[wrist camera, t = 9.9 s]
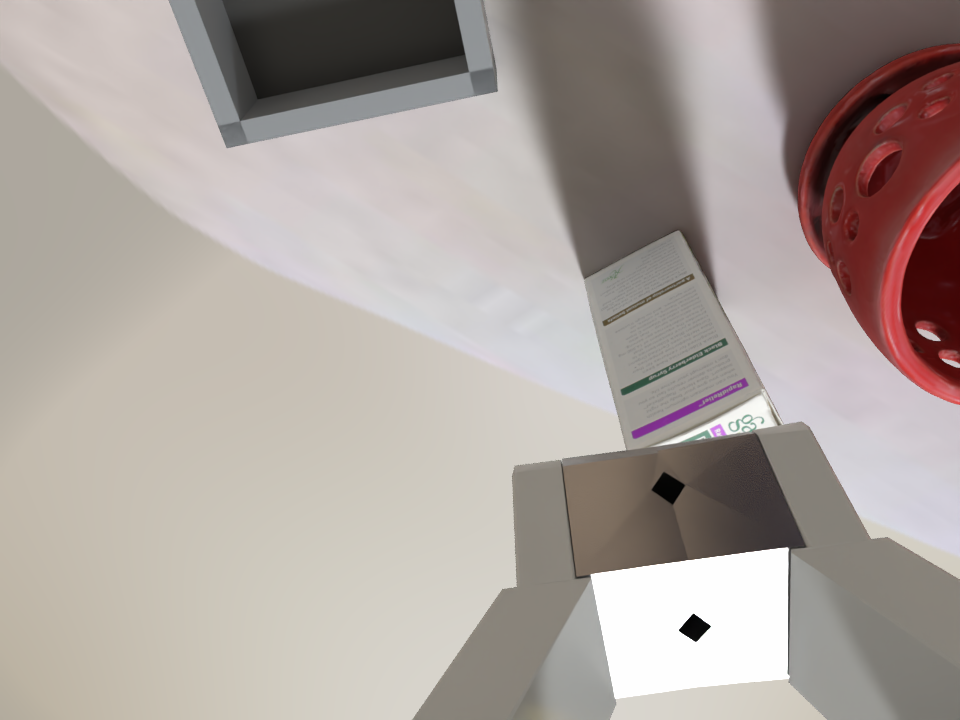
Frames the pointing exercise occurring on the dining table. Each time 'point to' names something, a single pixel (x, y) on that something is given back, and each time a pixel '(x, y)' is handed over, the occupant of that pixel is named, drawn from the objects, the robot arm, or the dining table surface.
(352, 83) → the tray box
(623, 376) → the syrup box
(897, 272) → the plant pot
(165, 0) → the dining table surface
